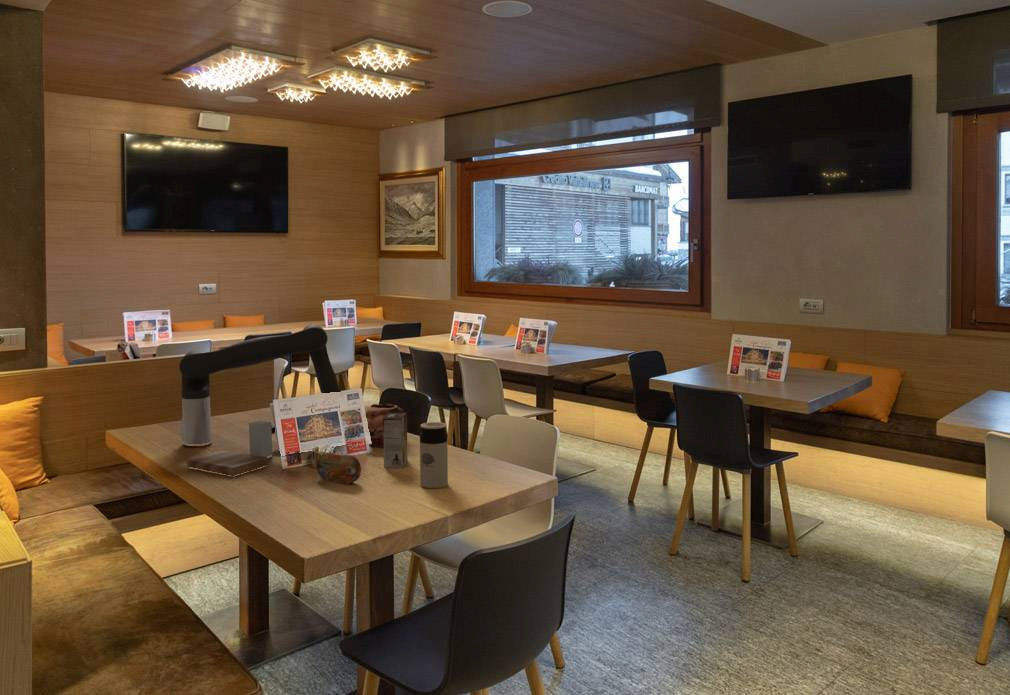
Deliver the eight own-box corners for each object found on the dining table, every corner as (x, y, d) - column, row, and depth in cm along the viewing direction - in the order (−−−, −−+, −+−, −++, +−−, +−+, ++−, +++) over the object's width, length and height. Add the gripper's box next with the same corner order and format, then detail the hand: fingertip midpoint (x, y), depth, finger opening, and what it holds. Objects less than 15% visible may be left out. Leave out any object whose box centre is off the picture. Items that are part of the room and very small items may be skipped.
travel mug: (433, 479, 231) (433, 420, 229) (453, 484, 226) (452, 424, 224) (414, 485, 225) (413, 425, 223) (434, 490, 220) (433, 428, 218)
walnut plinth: (187, 469, 244) (187, 459, 243) (223, 459, 256) (222, 450, 255) (233, 477, 234) (232, 467, 234) (267, 466, 246) (267, 457, 246)
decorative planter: (388, 436, 290) (387, 399, 288) (415, 439, 284) (414, 402, 283) (354, 447, 272) (353, 408, 271) (382, 451, 266) (382, 411, 265)
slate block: (250, 458, 256) (248, 423, 255) (261, 455, 261) (260, 420, 259) (261, 460, 254) (259, 424, 252) (272, 457, 258) (271, 422, 257)
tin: (316, 479, 232) (315, 452, 231) (323, 477, 235) (322, 449, 234) (356, 486, 225) (355, 457, 224) (362, 483, 228) (362, 455, 227)
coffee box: (388, 460, 254) (387, 412, 252) (407, 460, 254) (407, 412, 252) (383, 467, 245) (382, 418, 243) (403, 468, 245) (403, 418, 243)
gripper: (292, 412, 279) (259, 420, 265) (323, 416, 273) (290, 424, 258) (293, 433, 280) (259, 442, 266) (323, 437, 273) (291, 446, 259)
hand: (275, 433), depth 262 cm, fingers open, 8 cm apart
